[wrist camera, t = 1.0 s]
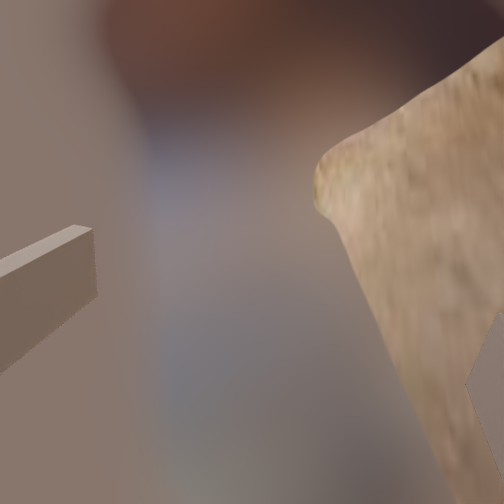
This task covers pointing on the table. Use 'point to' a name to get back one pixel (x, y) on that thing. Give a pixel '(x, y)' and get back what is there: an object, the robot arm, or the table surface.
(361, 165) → the table surface
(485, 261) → the table surface
